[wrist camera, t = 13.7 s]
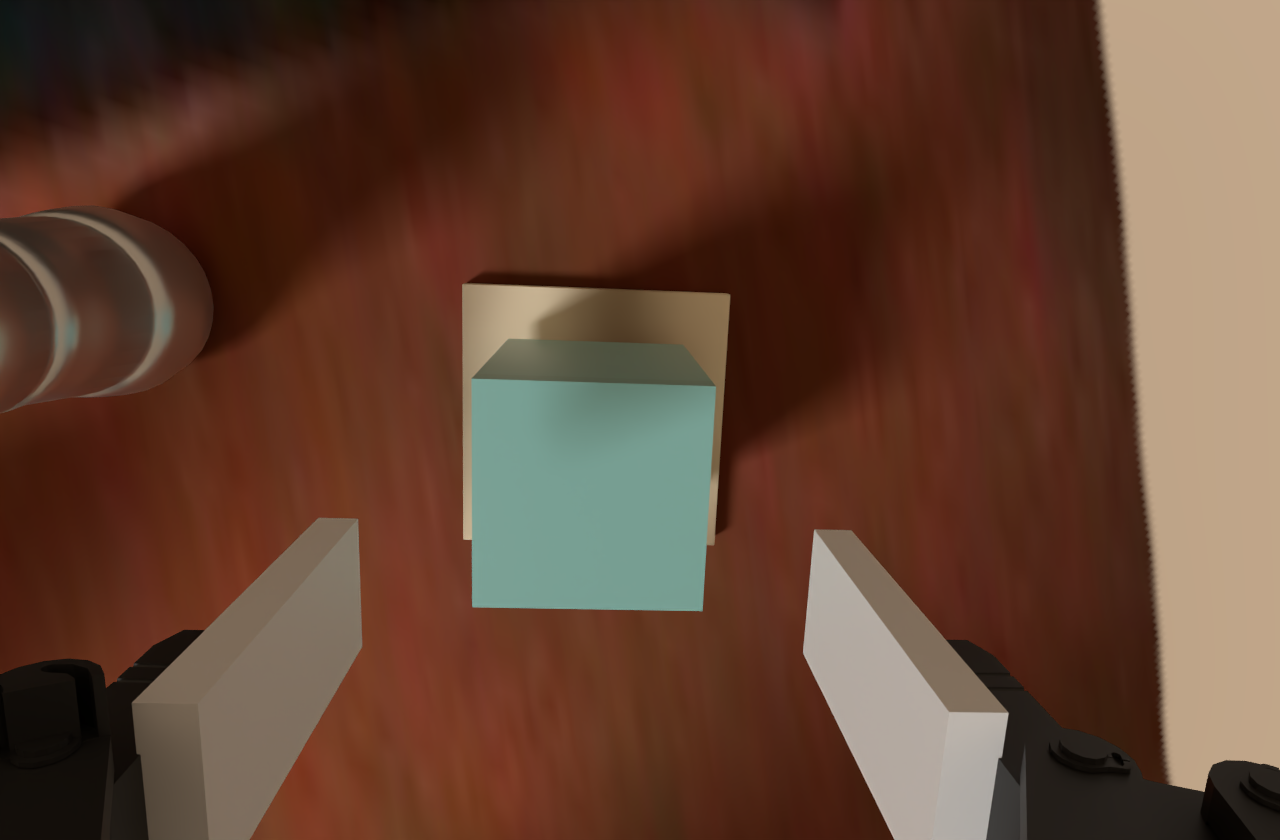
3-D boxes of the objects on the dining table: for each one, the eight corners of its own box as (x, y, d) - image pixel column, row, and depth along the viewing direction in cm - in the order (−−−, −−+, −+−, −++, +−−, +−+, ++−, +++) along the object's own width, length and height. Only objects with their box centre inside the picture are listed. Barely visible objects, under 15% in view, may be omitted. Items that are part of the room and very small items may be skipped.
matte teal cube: (507, 506, 31) (472, 607, 23) (508, 338, 30) (471, 378, 21) (674, 510, 32) (702, 611, 23) (683, 344, 30) (716, 386, 22)
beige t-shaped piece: (466, 532, 33) (412, 650, 24) (465, 283, 31) (406, 302, 22) (711, 538, 34) (755, 655, 24) (727, 293, 32) (781, 316, 22)
